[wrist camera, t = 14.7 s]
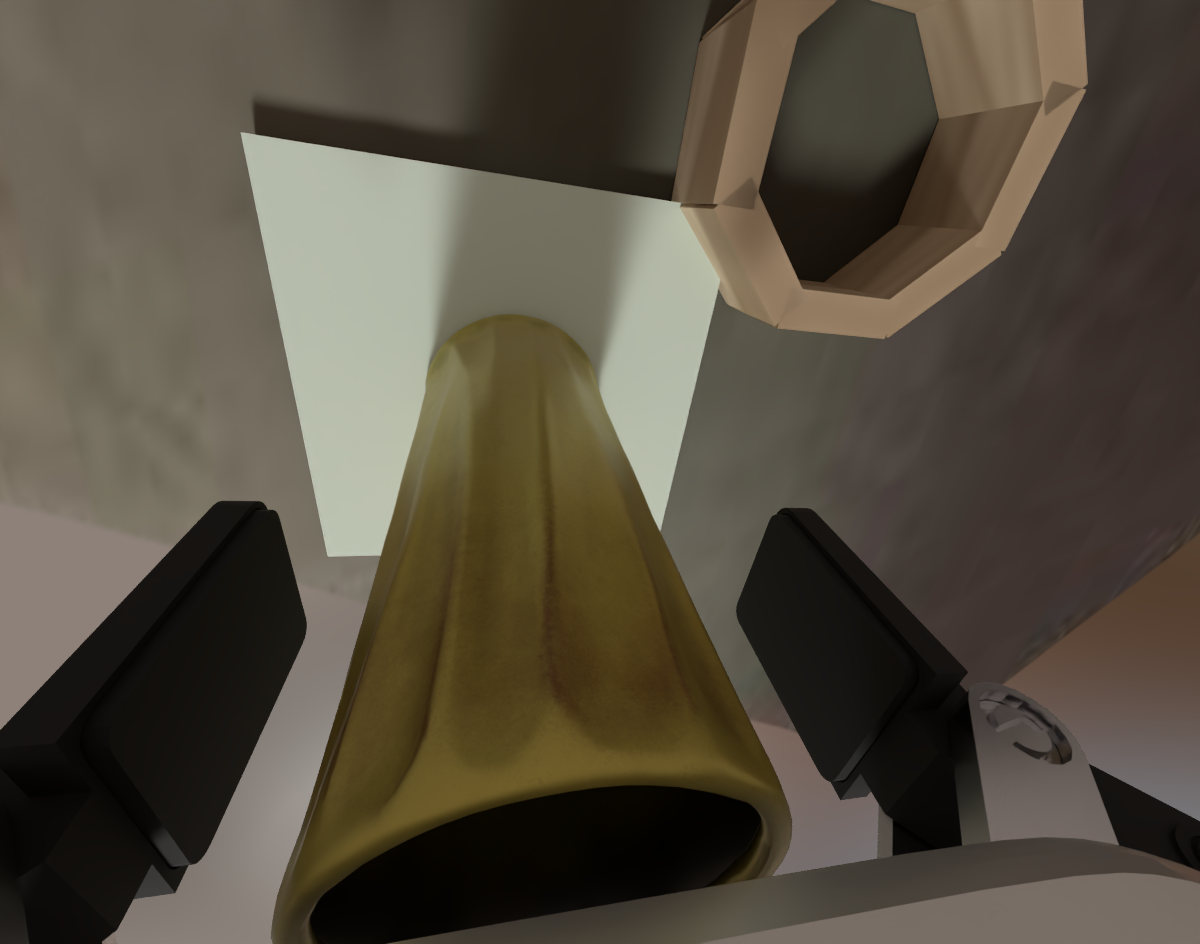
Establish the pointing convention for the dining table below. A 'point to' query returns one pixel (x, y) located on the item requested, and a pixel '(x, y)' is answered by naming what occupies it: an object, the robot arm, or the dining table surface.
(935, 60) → the ring
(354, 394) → the mat
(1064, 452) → the dining table surface
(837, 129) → the dining table surface
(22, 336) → the dining table surface
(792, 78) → the dining table surface
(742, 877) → the vase
